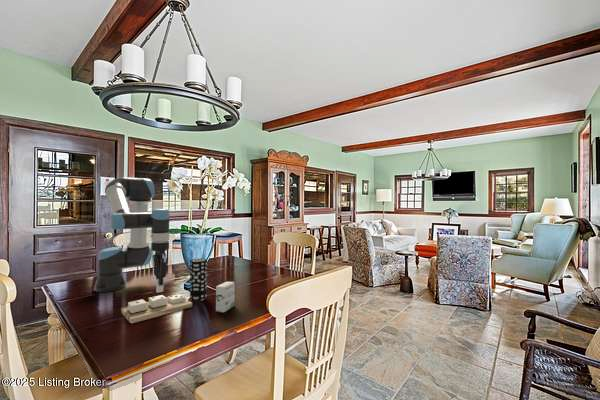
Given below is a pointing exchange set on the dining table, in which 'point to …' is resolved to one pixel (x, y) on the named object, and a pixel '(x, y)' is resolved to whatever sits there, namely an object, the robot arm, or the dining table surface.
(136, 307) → the one pip tile
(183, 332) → the dining table surface
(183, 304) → the button board
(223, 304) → the ink box
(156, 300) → the two pip tile
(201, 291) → the spotted tube
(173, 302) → the three pip tile
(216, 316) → the dining table surface
